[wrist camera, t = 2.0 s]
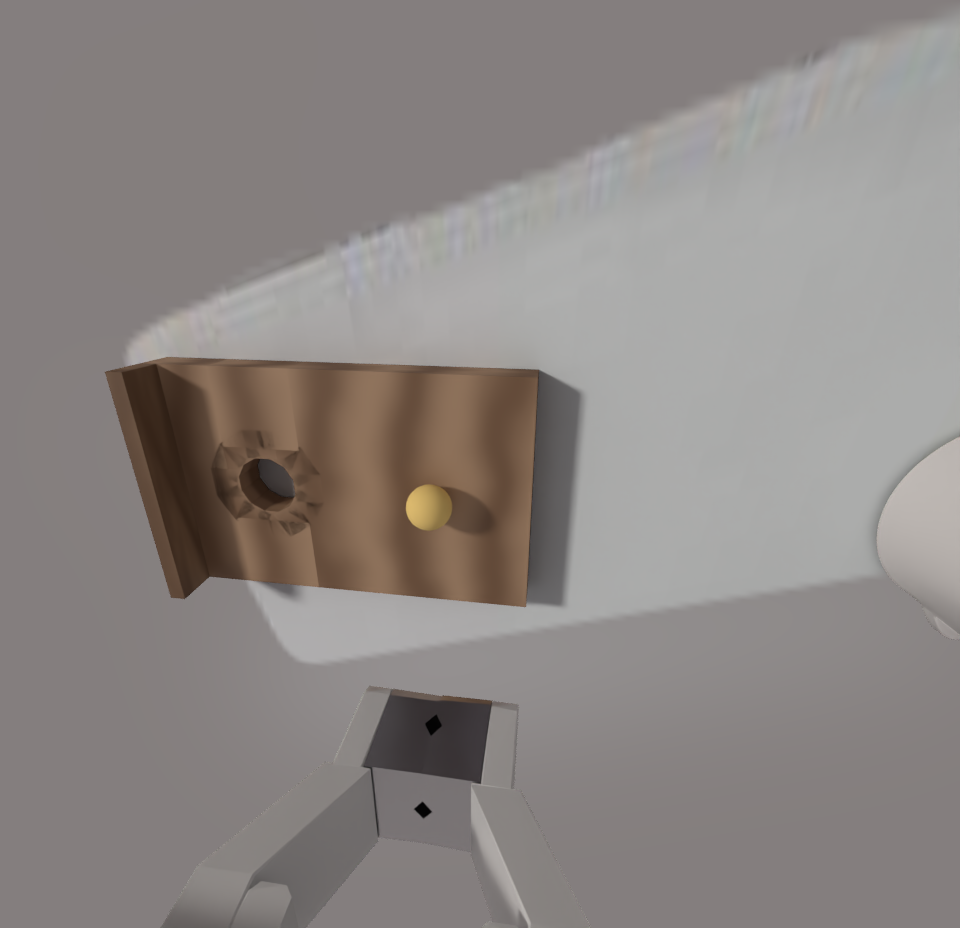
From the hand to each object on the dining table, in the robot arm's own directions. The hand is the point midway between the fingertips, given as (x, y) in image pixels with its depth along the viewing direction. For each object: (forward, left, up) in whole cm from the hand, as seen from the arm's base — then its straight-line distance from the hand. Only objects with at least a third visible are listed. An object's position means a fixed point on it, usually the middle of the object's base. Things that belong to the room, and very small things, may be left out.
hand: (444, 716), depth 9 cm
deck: (+13, +7, -26) cm, 30 cm away
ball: (+6, +7, -22) cm, 24 cm away
